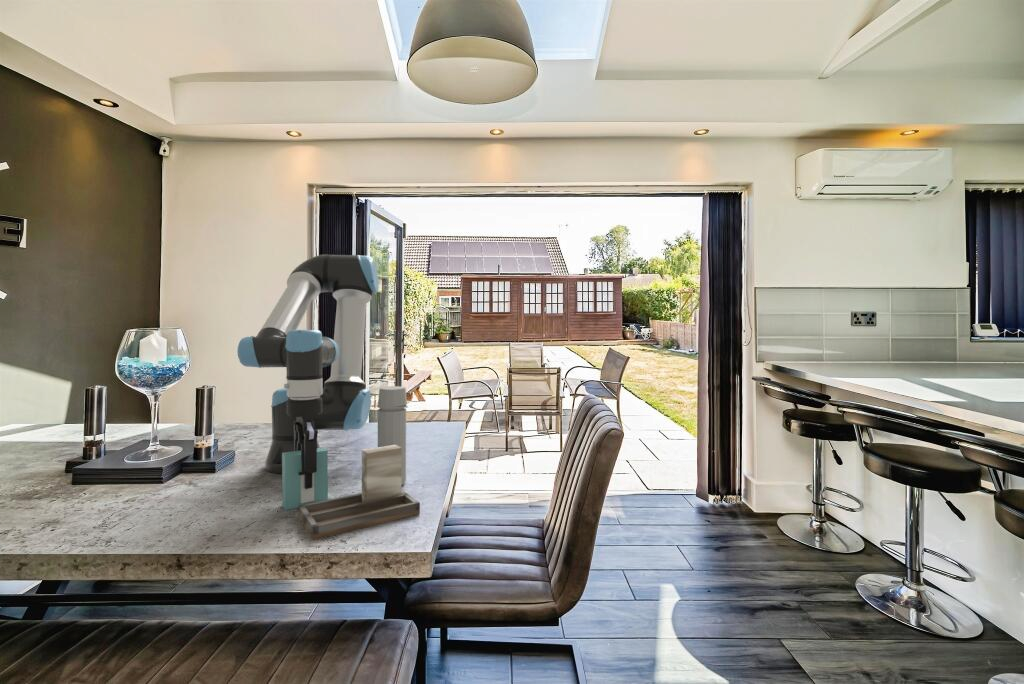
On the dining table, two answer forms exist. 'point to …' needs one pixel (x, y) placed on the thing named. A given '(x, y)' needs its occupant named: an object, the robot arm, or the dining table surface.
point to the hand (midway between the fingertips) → (305, 498)
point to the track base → (364, 498)
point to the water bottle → (393, 421)
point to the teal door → (293, 479)
